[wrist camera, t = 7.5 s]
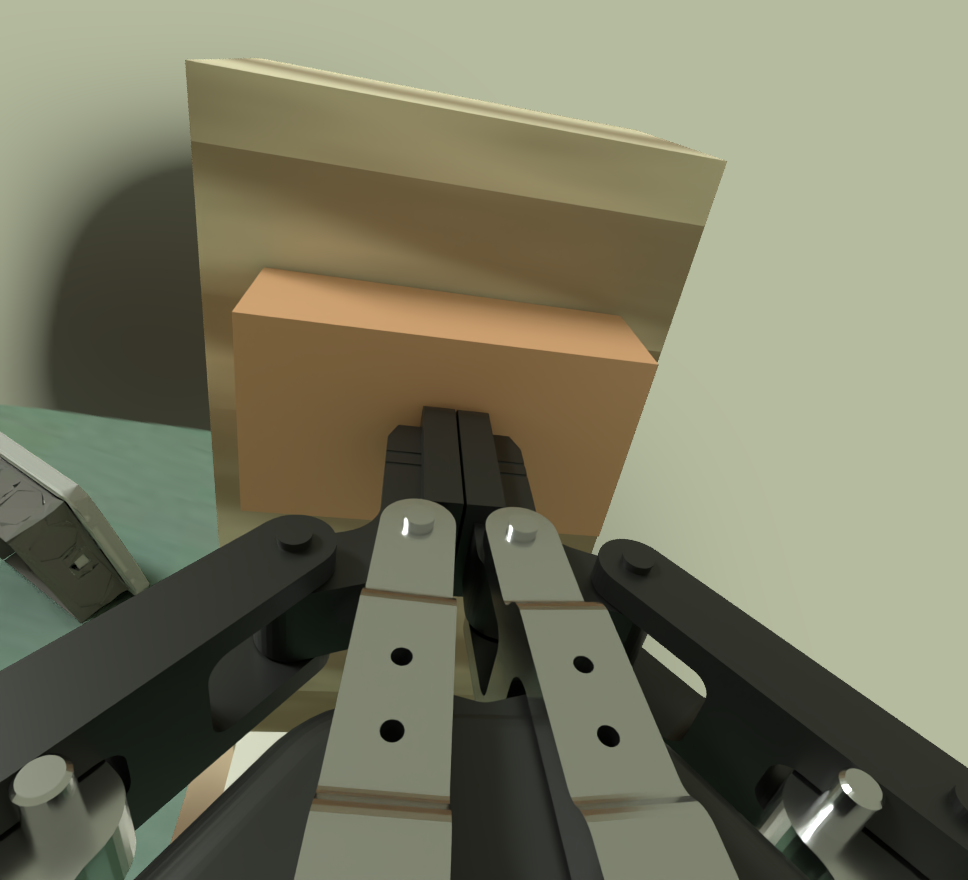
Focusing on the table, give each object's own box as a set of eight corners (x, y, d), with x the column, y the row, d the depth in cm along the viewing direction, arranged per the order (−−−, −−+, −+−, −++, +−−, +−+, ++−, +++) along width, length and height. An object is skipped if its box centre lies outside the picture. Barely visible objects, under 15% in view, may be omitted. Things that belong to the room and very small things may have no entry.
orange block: (296, 365, 21) (298, 218, 19) (544, 393, 23) (577, 260, 20) (240, 510, 15) (232, 312, 12) (598, 536, 16) (658, 364, 14)
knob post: (244, 628, 35) (216, 45, 20) (515, 639, 38) (662, 131, 23) (165, 889, 24) (-13, 35, 10) (555, 879, 27) (882, 199, 12)
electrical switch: (155, 593, 36) (118, 471, 31) (67, 655, 32) (7, 529, 27) (60, 524, 40) (13, 404, 34) (-29, 573, 36) (-99, 446, 30)
